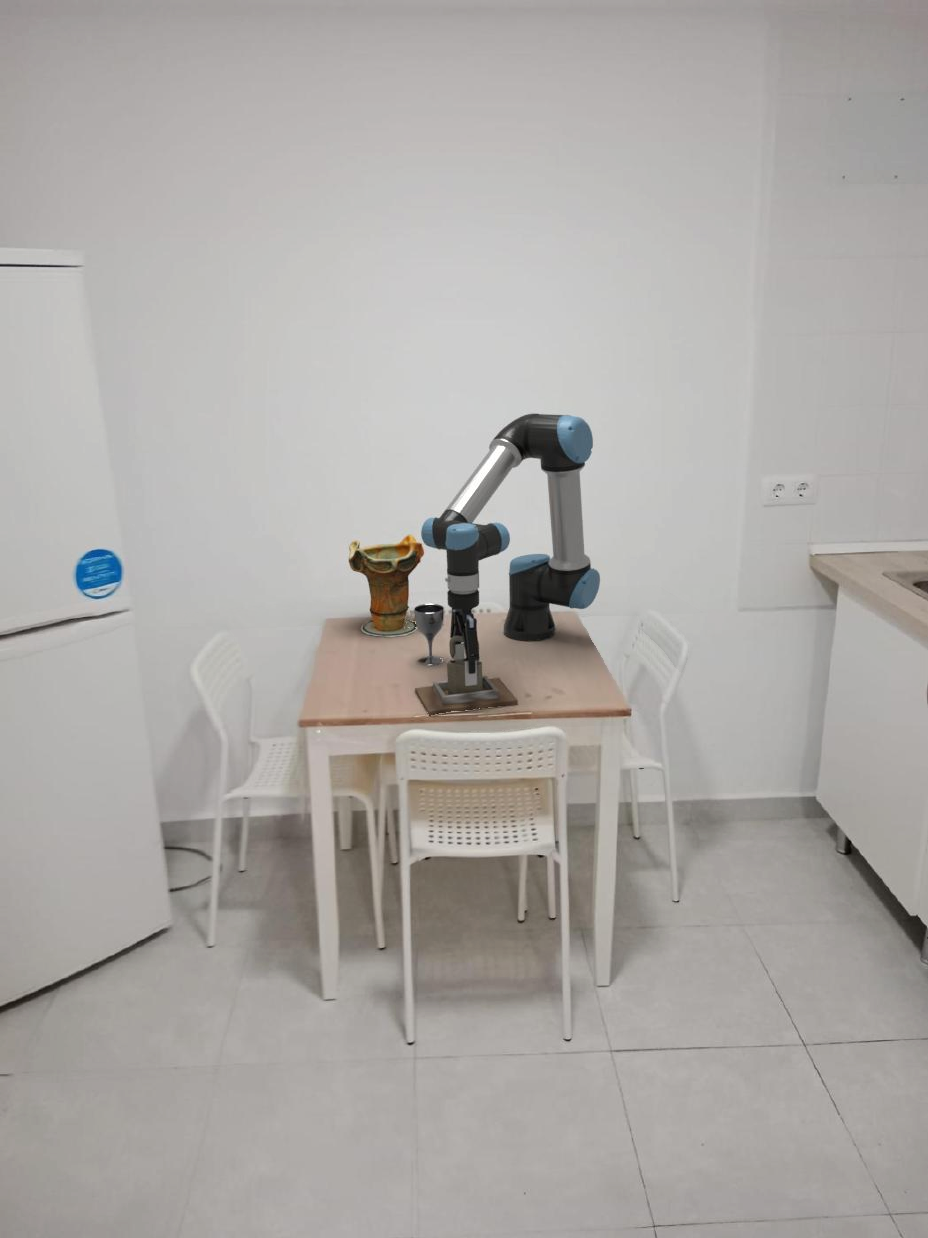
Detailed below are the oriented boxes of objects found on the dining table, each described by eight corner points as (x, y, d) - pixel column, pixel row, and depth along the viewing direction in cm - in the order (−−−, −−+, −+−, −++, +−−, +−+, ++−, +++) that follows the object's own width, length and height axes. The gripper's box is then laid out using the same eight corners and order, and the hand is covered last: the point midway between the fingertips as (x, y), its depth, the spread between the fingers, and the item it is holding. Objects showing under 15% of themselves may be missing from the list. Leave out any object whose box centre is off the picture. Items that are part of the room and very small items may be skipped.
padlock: (451, 689, 234) (449, 632, 229) (483, 692, 232) (482, 634, 227) (447, 695, 231) (445, 637, 226) (479, 698, 228) (478, 640, 224)
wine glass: (441, 666, 252) (440, 613, 248) (413, 665, 254) (411, 612, 249) (448, 656, 260) (446, 604, 255) (420, 654, 261) (418, 603, 257)
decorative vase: (339, 622, 288) (339, 532, 280) (410, 615, 297) (411, 528, 289) (360, 643, 270) (360, 548, 262) (435, 635, 279) (437, 542, 271)
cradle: (498, 682, 241) (498, 670, 240) (517, 704, 228) (517, 692, 227) (415, 692, 236) (414, 680, 235) (429, 716, 222) (428, 703, 221)
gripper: (436, 578, 232) (438, 662, 239) (460, 605, 211) (462, 696, 219) (465, 575, 234) (467, 659, 241) (492, 601, 213) (493, 692, 220)
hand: (465, 676), depth 230 cm, fingers open, 10 cm apart
